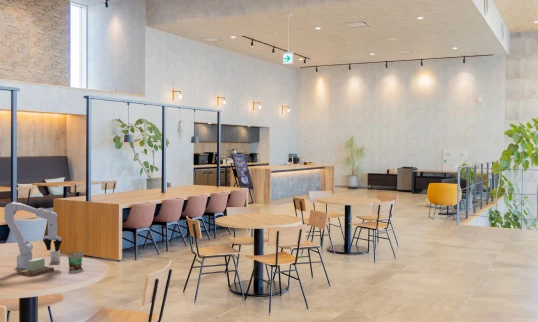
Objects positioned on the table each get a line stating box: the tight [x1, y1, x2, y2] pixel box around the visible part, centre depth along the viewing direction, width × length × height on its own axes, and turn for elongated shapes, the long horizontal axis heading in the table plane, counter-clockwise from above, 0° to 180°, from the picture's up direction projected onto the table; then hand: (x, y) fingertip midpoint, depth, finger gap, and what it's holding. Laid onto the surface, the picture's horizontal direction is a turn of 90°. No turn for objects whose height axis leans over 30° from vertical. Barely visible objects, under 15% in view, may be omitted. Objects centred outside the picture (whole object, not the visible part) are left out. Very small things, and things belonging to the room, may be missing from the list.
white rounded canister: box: [49, 249, 61, 264], centre depth 362 cm, size 6×6×8 cm
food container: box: [67, 251, 84, 271], centre depth 343 cm, size 12×6×10 cm, turn 168°
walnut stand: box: [16, 265, 55, 277], centre depth 333 cm, size 14×16×2 cm
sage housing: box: [28, 257, 46, 271], centre depth 333 cm, size 5×10×6 cm, turn 154°
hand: (52, 250), depth 349 cm, fingers open, 7 cm apart
